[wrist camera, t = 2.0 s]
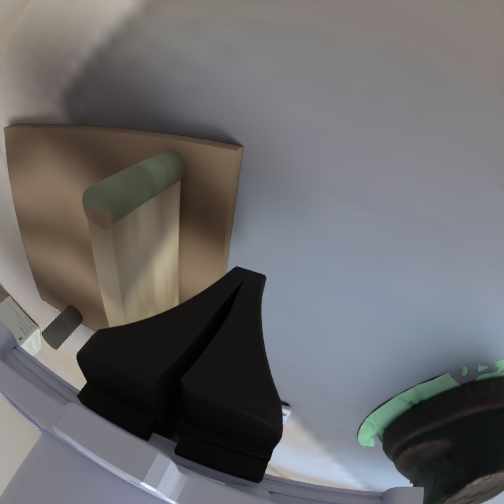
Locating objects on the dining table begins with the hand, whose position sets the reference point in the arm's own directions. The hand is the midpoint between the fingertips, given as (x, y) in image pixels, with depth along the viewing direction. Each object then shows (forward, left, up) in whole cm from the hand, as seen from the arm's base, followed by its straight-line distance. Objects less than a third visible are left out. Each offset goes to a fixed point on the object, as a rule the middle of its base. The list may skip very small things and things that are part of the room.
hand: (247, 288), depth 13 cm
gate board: (-4, +12, -3) cm, 13 cm away
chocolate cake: (-13, -22, -4) cm, 25 cm away
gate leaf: (-3, +5, -2) cm, 6 cm away
